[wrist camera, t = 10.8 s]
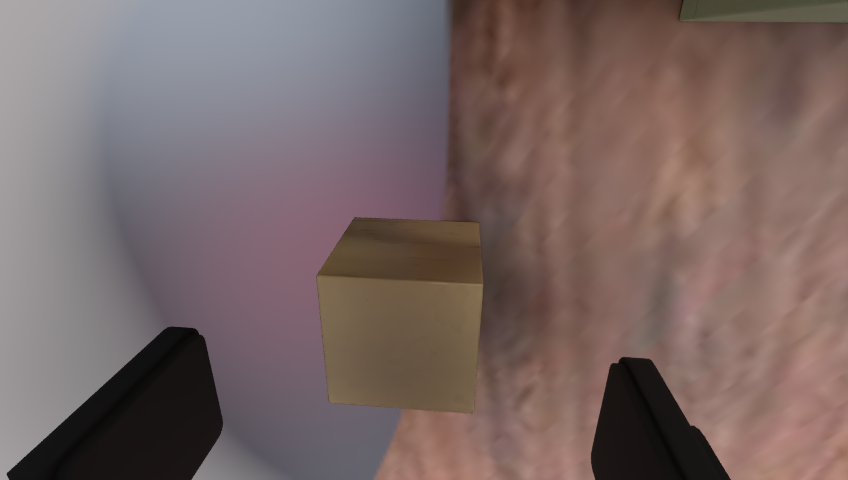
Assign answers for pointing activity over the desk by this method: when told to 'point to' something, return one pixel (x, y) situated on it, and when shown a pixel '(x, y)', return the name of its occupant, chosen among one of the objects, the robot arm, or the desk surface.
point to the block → (403, 314)
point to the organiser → (765, 11)
